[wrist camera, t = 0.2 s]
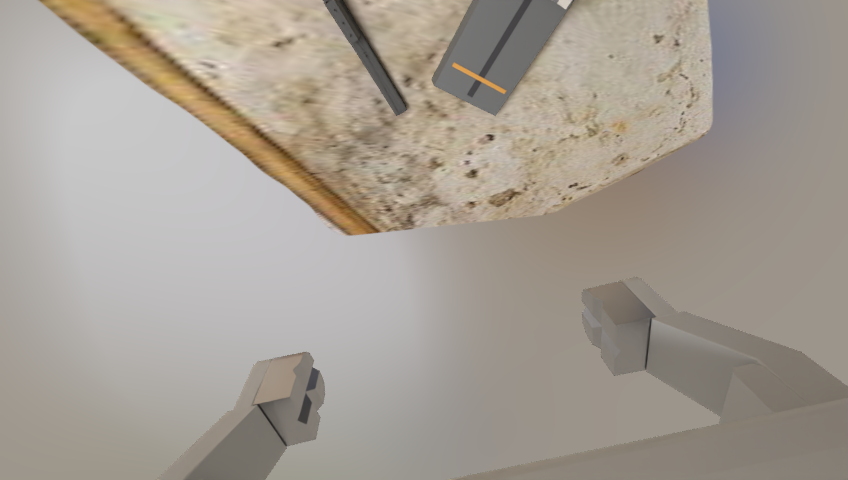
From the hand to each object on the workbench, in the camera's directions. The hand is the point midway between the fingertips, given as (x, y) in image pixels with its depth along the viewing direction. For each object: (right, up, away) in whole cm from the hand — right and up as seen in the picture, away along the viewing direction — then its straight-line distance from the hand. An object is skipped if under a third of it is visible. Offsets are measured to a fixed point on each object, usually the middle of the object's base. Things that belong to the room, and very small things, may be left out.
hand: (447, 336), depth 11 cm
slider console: (+11, +34, +42) cm, 55 cm away
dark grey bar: (-9, +30, +43) cm, 53 cm away
